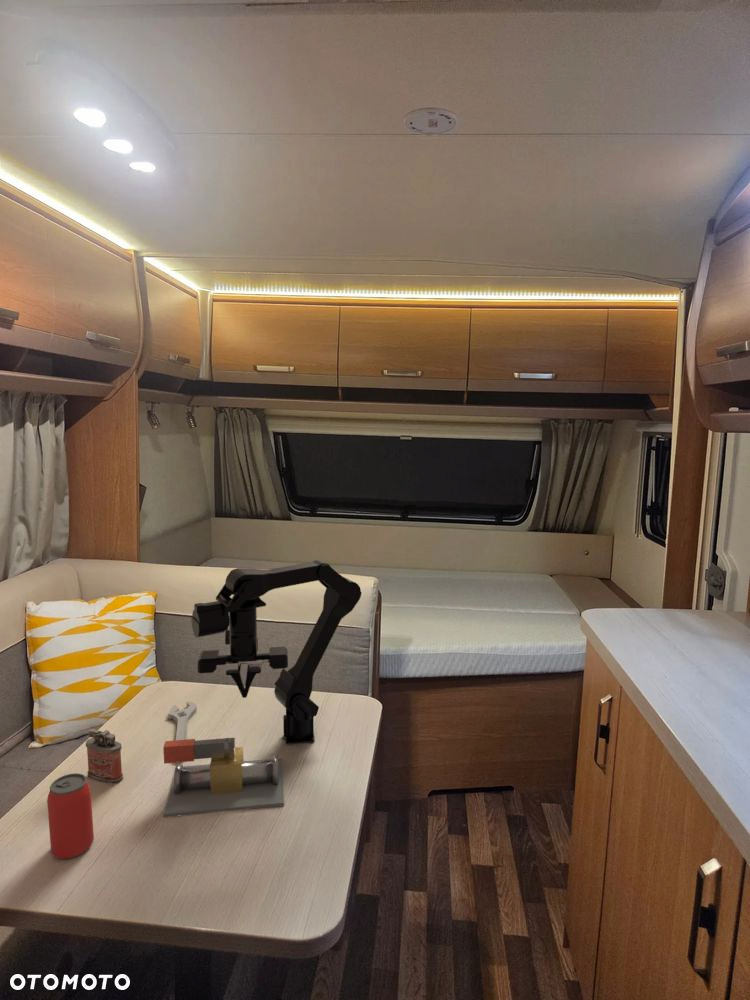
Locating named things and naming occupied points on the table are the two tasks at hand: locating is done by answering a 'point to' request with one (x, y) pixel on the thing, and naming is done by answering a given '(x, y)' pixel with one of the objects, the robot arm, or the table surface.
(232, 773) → the valve body
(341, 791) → the table surface
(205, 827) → the table surface
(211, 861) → the table surface
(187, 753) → the lever
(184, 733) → the adjustable wrench
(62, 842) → the beer can
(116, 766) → the lighter
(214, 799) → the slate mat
